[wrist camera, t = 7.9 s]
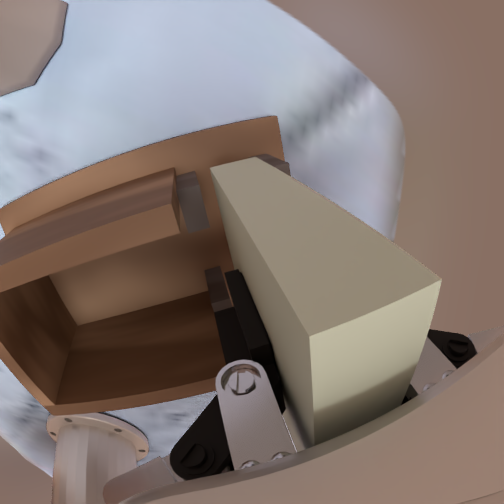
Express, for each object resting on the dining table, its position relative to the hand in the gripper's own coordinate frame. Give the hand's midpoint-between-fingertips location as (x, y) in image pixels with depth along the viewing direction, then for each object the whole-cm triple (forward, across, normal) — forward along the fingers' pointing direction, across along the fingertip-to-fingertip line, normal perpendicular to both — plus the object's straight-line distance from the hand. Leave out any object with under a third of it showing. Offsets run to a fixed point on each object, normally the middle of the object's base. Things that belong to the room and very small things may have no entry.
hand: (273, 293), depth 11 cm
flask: (+8, +11, -16) cm, 21 cm away
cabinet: (+8, +6, 0) cm, 10 cm away
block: (+3, 0, 0) cm, 3 cm away
